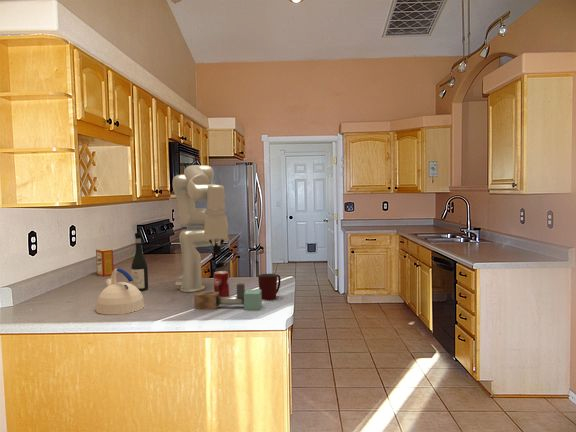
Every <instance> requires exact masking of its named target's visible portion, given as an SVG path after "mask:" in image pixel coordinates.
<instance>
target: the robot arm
mask: <svg viewBox="0 0 576 432" xmlns="http://www.w3.org/2000/svg"><path fill="white" fill-rule="evenodd" d="M183 171H184V172H183V174H182V173H181V174H177V175H175V176H174V177H173V178H172V190H173V193H174V195H175V198H176V201H177V205H178V212H179V214H178V215H179V221H180V224H181V226H183V227H185V228H187V229H183V230H181V232H180V233H179V243H180V248H181V249H180V250H181V266H182V268H181V269H182V280H181V281H175V283H174V284H175V286H176V287H180V288H179V291H180V292H184V293H195V292H196V293H198V292H202V291H203V290H205V289H206V288H205V285H202V284H203V283H202V259H201V258H202V257H201V253H200V252H199V251H198V250H197V248H199V247H200V248H201V247H210V246H212V247H213V253H214V256H219V255H220V254H221V252H222V244H224V243H225V242H226V243H227V242H228V241H229V240H230V238H229V235H230V233H229V230H230V229H229V224H228V218H227V215H226V209H225V203H226V200H225V198H226V197H225V187H224V185H222V184H215V183H214V184H213V183H212V182H213V180H214V177H215V173H214V169H213V167H211V166H210V165H206V164H193V165H192V164H191V165H189V166H186V168H184V170H183ZM196 202H207V205H206V206H207V208H204V207H203V208H202V207H201V208H200V207H196V204H195V203H196ZM194 227H200V228H194Z"/></svg>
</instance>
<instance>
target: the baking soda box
mask: <svg viewBox="0 0 576 432" xmlns="http://www.w3.org/2000/svg"><path fill="white" fill-rule="evenodd" d="M95 260H96V275H97V276H101V277H111V274H112V272H113V271H114V270H115V269H114V249H109V248H100V249H99V248H98V249H95Z"/></svg>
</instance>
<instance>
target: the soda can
mask: <svg viewBox="0 0 576 432" xmlns="http://www.w3.org/2000/svg"><path fill="white" fill-rule="evenodd" d="M213 292H219V297H230V273H229V272H228V271H227V270H218V271H215V272H214V273H213Z"/></svg>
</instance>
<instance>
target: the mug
mask: <svg viewBox="0 0 576 432" xmlns="http://www.w3.org/2000/svg"><path fill="white" fill-rule="evenodd" d="M257 279H258V290H261V295H262V301H272V300H276V298H277V294H278V292H279V290H280V289H281V282H282V281H281V276H280V275H279V274H276V273H261V274H258V276H257Z"/></svg>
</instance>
